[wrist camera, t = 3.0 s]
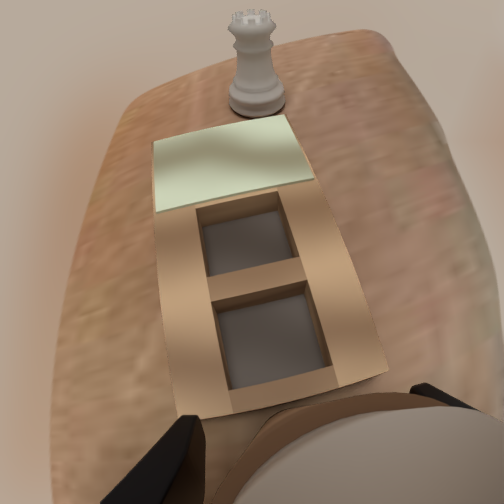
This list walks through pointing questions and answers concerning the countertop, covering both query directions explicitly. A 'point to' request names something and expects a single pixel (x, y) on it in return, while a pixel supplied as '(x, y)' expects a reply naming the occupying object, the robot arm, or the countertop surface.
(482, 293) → the countertop surface
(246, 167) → the board
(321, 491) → the pepper mill
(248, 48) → the rook chess piece
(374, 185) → the countertop surface
